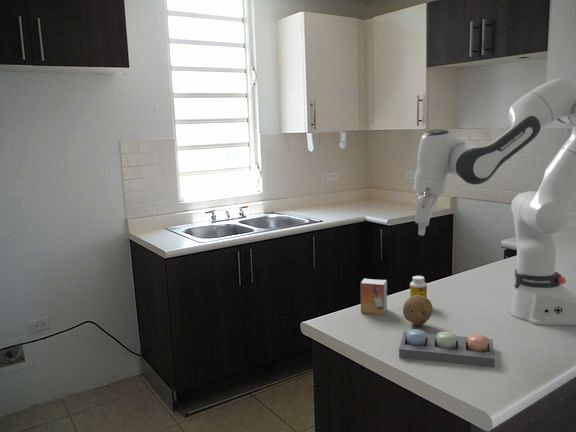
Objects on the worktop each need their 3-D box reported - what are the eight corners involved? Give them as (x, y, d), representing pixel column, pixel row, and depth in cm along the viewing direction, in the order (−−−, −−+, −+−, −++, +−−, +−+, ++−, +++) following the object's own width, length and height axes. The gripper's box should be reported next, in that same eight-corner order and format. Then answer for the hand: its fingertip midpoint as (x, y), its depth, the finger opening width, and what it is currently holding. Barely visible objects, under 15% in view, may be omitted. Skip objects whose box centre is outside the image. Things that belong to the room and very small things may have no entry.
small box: (360, 312, 170) (359, 282, 168) (364, 307, 175) (363, 278, 173) (384, 315, 167) (384, 284, 165) (387, 309, 172) (387, 279, 170)
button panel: (492, 347, 140) (492, 339, 139) (494, 367, 129) (495, 358, 128) (403, 339, 147) (403, 331, 147) (399, 357, 136) (399, 349, 136)
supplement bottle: (418, 310, 170) (418, 280, 168) (406, 305, 175) (406, 277, 173) (430, 306, 173) (430, 277, 171) (417, 301, 178) (417, 273, 176)
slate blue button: (426, 340, 142) (426, 330, 141) (424, 347, 137) (424, 337, 137) (407, 338, 143) (407, 328, 143) (406, 345, 139) (406, 335, 138)
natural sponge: (427, 333, 151) (428, 302, 149) (398, 329, 155) (398, 298, 153) (435, 323, 158) (435, 292, 157) (407, 318, 163) (407, 289, 161)
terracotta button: (487, 345, 137) (487, 335, 136) (488, 353, 132) (488, 342, 131) (467, 343, 138) (467, 333, 138) (467, 351, 134) (468, 341, 133)
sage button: (456, 342, 139) (456, 332, 139) (455, 350, 135) (456, 340, 134) (437, 341, 141) (437, 331, 140) (436, 348, 136) (436, 338, 136)
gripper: (436, 194, 138) (430, 242, 142) (443, 180, 156) (437, 222, 160) (413, 191, 140) (407, 238, 144) (422, 177, 158) (417, 219, 162)
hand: (423, 230), depth 152 cm, fingers open, 8 cm apart
